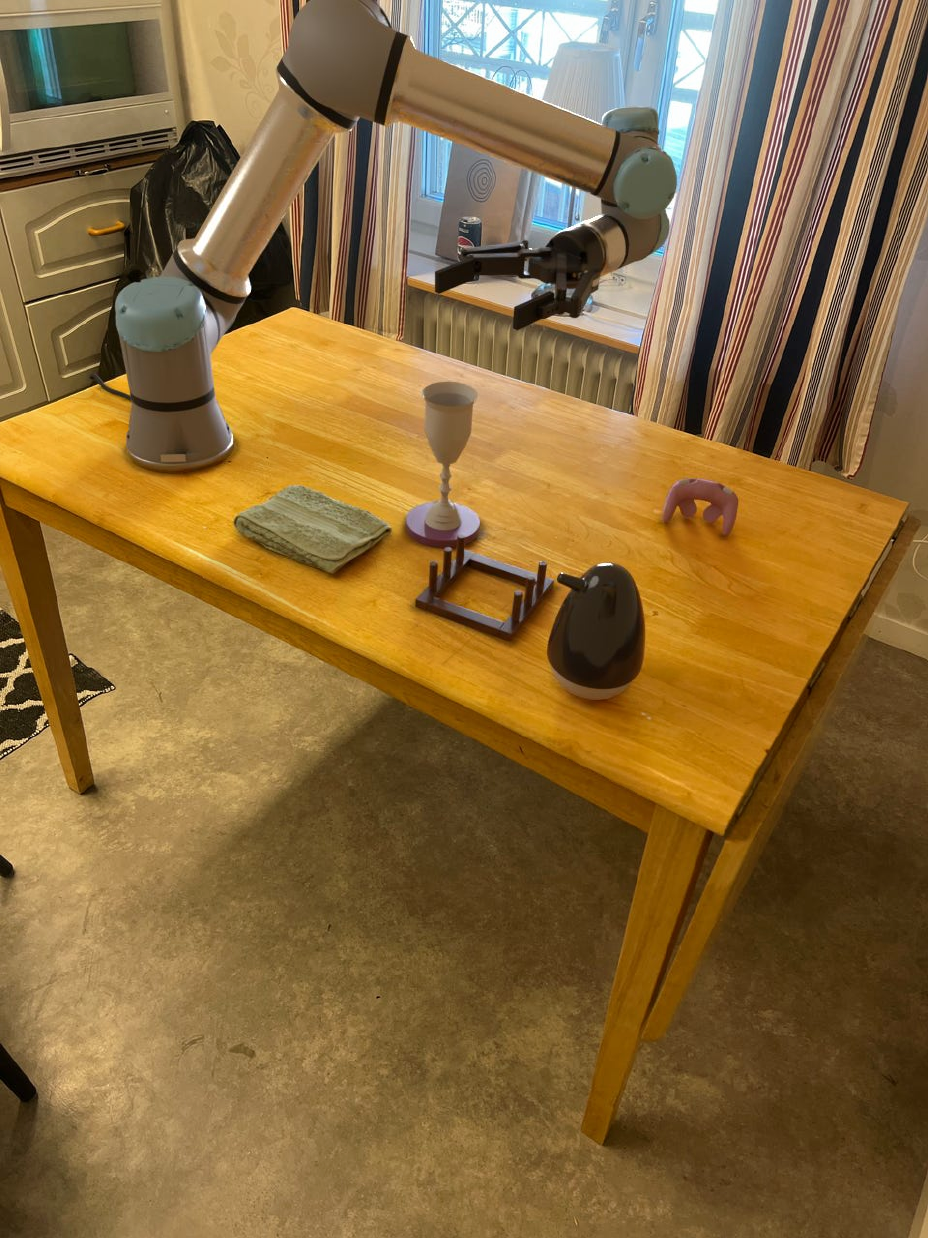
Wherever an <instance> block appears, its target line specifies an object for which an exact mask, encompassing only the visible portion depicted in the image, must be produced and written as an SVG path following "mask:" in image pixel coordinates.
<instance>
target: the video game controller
mask: <svg viewBox="0 0 928 1238" xmlns="http://www.w3.org/2000/svg"><path fill="white" fill-rule="evenodd" d="M695 501H703V502H707V503H710V504H709V505H708V506H706V507H705V508H704V509H703V511H702V518H703V520H704V521H706V523H710V524H712V523H715V522H717V521H718V519H720V518H721V516H722V517H723V520H722V521H723V522H722V535H723V536H724V537H728V536H730V534H731V533H732V531H733V529H734V527H735V526H734V525H735V522H736V519H737V515H738V508H739V498H738V496H737V494H736V493H735V491H733V490H732V489H731V488H730V487H728V486H726V485H725V484H722V483H720V482H717V481H715V480H711V479H707V478H699V477H698V478H693V477H692V478H682V479H679V480H678V481H675V482H674V483H673V484H672V485H671V486H670V488H669V490H668V492H667V495H666V497H665V501H664V504H663V505H664V506H663V511H662V521H663V523H664V524H668V523H669V522H670V521H671V519H672V518H673V516H674V514H675V512H676V509H677V508H679V512H680V514H681V515H682V516H683V517H684V518H692V517H694V516H695V515H696V514H697V511H698V506H697V504H696V502H695Z"/></svg>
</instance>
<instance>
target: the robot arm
mask: <svg viewBox="0 0 928 1238" xmlns="http://www.w3.org/2000/svg"><path fill="white" fill-rule="evenodd" d="M287 42H288V44H287V45H288V46H287V47H286V49H285V51H284V53H283V55H282V56H281V59H280V60H279V62H278V64H277V66H276V68H275V74H276V79H277V83H278V90H277V92H276V93H275V96H274V98H273V99H272V100H271V103H270V104H269V106H268V108H267V110H266V112H265V113H264V115H263V117H262V119H261V121H260V122H259V124H258V126H257V128H256V129H255V131H254V133H253V135H252V136H251V138H250V140H249V142H248V144H247V145H246V147H245V148H244V151H243V152H242V154H241V156H240V158H239V160H238V161H237V163H236V165H235V166H234V168H233V171H232V172H231V174H230V175H229V177H228V179H227V181H226V183H225V185H223V188H222V189H221V191H220V193H219V194H218V197H217V198H216V199H215V202H214V203H213V206H212V208H211V209H210V211H209V212H208V213H207V216H206V217H205V220H204V221H203V222H202V223H203V224H202V225H201V227H200V229H199V230H198V232H197V234H196V236H195V237H193V238H185V239H181V240H180V241H179V242H178V244H177V245H176V248H175V249H174V251H173V252H172V255H171V256H170V258H169V260H168V261H167V263H166V265H165V267H164V269H163V270H162V273H161V274H160V276H154V277H147V278H144V279H141V280H140V282H139V281H138V282H136V281H134V282H132V283H130V284H128V285H127V286H125V287H124V288H123V289H122V290H120V292H118V295H117V296H116V299H115V303H114V304H115V305H114V310H115V327H116V330H117V333H118V339H119V342H120V343H119V344H120V348H121V349H120V350H121V354H122V358H123V364H124V369H125V374H126V379H127V386H128V390H129V393H126V392H123V391H121V390H117V389H114V388H112V387H110V386H108V385H107V384H105V382H104V381H103V380H102V379H101V377H100V376H99V375H98V374H97V373H95V372H92V373H90V375H89V380H95V382H96V383H97V384H98V385H99V386H100V385H101V386H100V387H101V388H102V389H103V390H104V391H106V392H107V393H110V394H112V395H115V396H118V397H121V398H123V399H126V400H127V401H129V402H130V403H131V406H130V413H129V420H128V430H127V432H126V436H125V447H126V451H127V457H128V458H129V459H130V461H131V462H132V463H134V465H136V466H139V467H141V468H143V469H145V470H149V471H154V472H159V473H170V474H171V473H175V474H176V473H188V472H196V471H200V470H204V469H207V468H210V467H213V466H216V465H218V464H220V463H221V462H223V461H225V460H226V459H228V457H230V455H231V454H232V452H233V450H234V447H235V445H234V436H233V433H232V429H231V427H230V425H229V424H228V423H227V420H226V418H225V415H224V413H223V411H222V409H221V406H220V404H219V402H218V400H217V397H216V392H215V382H214V374H213V365H212V354H213V352H214V351H215V349H216V348H217V346H218V344H219V343H220V341H221V340H222V338H223V337H224V335H225V334H226V333H227V332H228V331H229V330H230V328H231V327H232V325H233V323H234V322H235V319H236V317H237V315H238V313H239V312H240V310H241V308H242V307H243V305H244V303H245V301H246V300H247V298H248V296H249V295H250V293H251V290H252V285H251V282H250V278H249V274H250V272H252V269H253V268H254V267H255V264H257V261H258V260H259V258H260V256H261V255H262V253H263V252H264V250H265V249H266V247H267V245H268V244H269V242H270V241H271V239H272V237H273V236H274V234H275V232H276V230H277V229H278V228H279V226H280V224H281V222H282V220H283V219H284V218H285V216H286V215H287V213H288V211H289V209H290V207H291V206H292V205H293V203H294V201H295V200H296V198H297V196H298V195H299V193H300V192H301V190H302V188H303V187H304V185H305V184H306V182H307V180H308V179H309V177H310V175H311V174H312V172H313V171H314V169H315V167H316V166H317V164H318V162H319V161H320V159H321V157H322V156H323V154H324V152H325V151H326V149H327V147H328V146H329V144H330V143H331V141H332V139H333V138H334V136H335V135H337V134H342V133H349V132H351V131H352V130H353V128H354V127H355V125H356V124H357V122H358V121H359V119H360V118H361V119H364V120H367V121H370V122H372V123H376V124H378V125H381V126H383V127H387V128H388V127H390V126H391V125H394V124H397V123H398V122H399V123H401V124H405V125H408V126H410V127H413V128H416V129H417V130H421V131H424V132H426V133H429V134H432V135H434V136H437V137H439V138H442V139H445V140H447V141H449V142H452V143H455V144H457V145H460V146H463V147H466V148H468V149H471V150H473V151H476V152H479V153H481V154H484V155H486V156H490V157H491V158H494V159H497V160H500V161H502V162H505V163H508V164H509V165H514V166H516V167H518V168H521V169H523V170H526V171H529V172H532V173H534V174H536V175H539V176H542V177H544V178H548V179H550V180H553V181H556V182H557V183H560V184H563V185H566V186H568V187H571V188H573V189H577V190H579V191H582V192H585V193H586V194H589V195H592V196H594V197H596V198H598V199H599V200H600V215H598V216H595V217H593V218H591V219H588V220H584V221H582V222H580V223H577V224H575V225H573V226H570V227H568V228H565V229H563V230H560V231H558V232H557V233H554V235H553V236H552V237H551V238H550V240H549V241H548V242H547V244H546V245H545V246H544V247H543V246H541V247H537V248H530V247H529V240H527V239H520V240H517V241H513V242H508V243H499V244H491V245H482V246H473V247H465V248H461V249H460V260H459V261H456V262H455V263H451V264H449V265H448V266H445V267H443V268H440V269H438V270H435V271H434V293H435V294H438V295H441V294H442V293H445V292H447V291H450V290H452V289H455V288H458V287H460V286H462V285H464V284H468V283H470V282H472V281H474V280H475V277H477V276H478V277H479V276H480V277H481V276H482V277H483V276H517V277H518V278H519V279H521V280H524V279H527V280H528V279H533V280H538V281H540V282H542V283H543V284H546V285H554V292H553V291H551V290H549V291H546V292H544V293H542V294H540V295H537V296H535V297H533V298H531V299H529V300H526V301H524V302H522V303H520V304H517V305H515V306H513V319H512V329H513V330H516V331H519V330H521V329H524V328H525V327H528V326H530V325H532V324H534V323H536V322H538V321H541V320H547V319H548V318H549V319H550V318H551V317H553V316H555V315H559V316H561V315H564V314H565V313H566V314H569V315H568V316H569V318H571V319H578V318H579V317H580V316H581V313H582V311H583V310H584V309H585V306H586V304H587V303H588V300H589V298H590V296H591V295H592V294H594V293H595V292H597V291H598V290H599V287H600V278H603V277H604V276H607V275H608V274H611V273H612V272H616V271H617V270H620V269H621V268H625V267H627V266H630V265H631V264H633V263H636V262H637V263H638V262H639V261H644V260H645V259H646V258H647V257H649V256H651V255H652V254H654V253H656V252H657V251H658V250H660V249H661V248H662V247H663V245H665V243H666V242H667V239H668V237H669V233H670V230H671V229H670V228H671V225H670V224H671V223H670V219H669V217H668V214H667V208H669V205H670V204H671V202H672V201H673V199H674V198H675V195H676V191H677V189H678V188H677V187H678V176H677V171H676V169H675V164H674V161H673V159H672V157H671V156H670V155H669V154H668V153H667V152H666V151H665V150H663V148H662V147H661V146H660V144H659V135H660V129H659V114H658V111H657V110H656V109H655V108H653V107H651V106H637V105H636V106H626V107H618V108H614V109H611V110H609V111H607V112H605V113H604V114H603V116H602V117H601V123H599V122H596V121H594V120H592V119H589V118H586V117H584V116H581V115H579V114H577V113H574V112H572V111H569V110H567V109H565V108H561V107H560V106H557V105H554V104H552V103H549V102H547V101H545V100H542V99H539V98H536V97H534V96H532V95H530V94H527V93H525V92H522V91H520V90H517V89H514V88H511V87H510V86H508V85H505V84H502V83H500V82H497V81H494V80H492V79H490V78H488V77H484V76H482V75H481V74H478V73H475V72H473V71H470V70H467V69H464V68H462V67H460V66H457V65H455V64H452V63H449V62H448V61H445V60H442V59H440V58H437V57H436V56H432V55H430V54H427V53H425V52H424V51H423V52H422V51H420V50H418V49H417V47H416V45H415V43H414V41H413V39H412V36H410V35H408V34H406V33H403V32H400V31H398V30H396V29H394V28H393V26H392V24H391V21H390V19H389V17H388V15H387V14H386V12H385V10H384V9H383V8H382V6H381V5H380V3H378V2H377V1H376V0H308V1H307V2H306V3H305V4H304V5H302V6H301V8H300V9H299V11H298V12H297V13H296V15H295V17H294V19H293V21H292V24H291V26H290V29H289V33H288V41H287ZM525 262H527V263H528V264H527V270H525ZM568 290H574V291H573V292H572V294H571V297H568V296H567V292H568Z"/></svg>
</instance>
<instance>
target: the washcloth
mask: <svg viewBox="0 0 928 1238" xmlns="http://www.w3.org/2000/svg"><path fill="white" fill-rule="evenodd" d="M232 523H233V527H234V528H235V530H236V531H237V533H238V534H239V535H241V536H243V537H245V538H247V539H250V540H253V541H255V542H256V543H258V544H259V545H262V546H263V547H264V548H265V549H266V550H270V551H272V552H274V553H277V554H279V555H282V556H285V557H287V558H290V559H292V560H295V561H297V562H299V563H302V564H305V565H308V566H310V567H313V568H316V569H320V570H322V572H326V573H327V574H331V575H335V574H336V572H337V571H339V570H340V569H342V567H344V566H346V565H347V564H348V563H349V562H350V561H352V560H353V559H355V558H357V557H358V556H362V555H363V553H365V552H367V551H368V550H370V549H371V548H372V547H374V546H375V545H376V544H377V543H378V542H380V541H381V540H382V539H384V538H385V537H386V536H389V535H390V534H391V533H392V531H393V530H392V527H391V526H390V525H389V524H388V522H387V521H386V520H385V521H384V520H383V519H381V518H379V517H378V516H377V515H375V514H374V513H372V512H371V511H369V510H366V509H362V508H360V507H357V506H353V505H352V504H349V503H347V502H343V501H342V500H338V499H335V498H332V497H331V496H329V495H326V494H325V493H323V492H322V491H318V490H316V489H312V488H309V487H307V486H305V485H301V484H300V485H298V484H291V485H289V486H286V487H285V488H282V490H280V491H279V492H276V493H275V494H274V495H272V496H270V497H269V498H268V500H267V501H265V502H263V503H260V504H254V505H253V506H251V507H249V508H247V509H246V510H242V511H241V512H239V513H237V515H236V516H234V518H233V522H232Z"/></svg>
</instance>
